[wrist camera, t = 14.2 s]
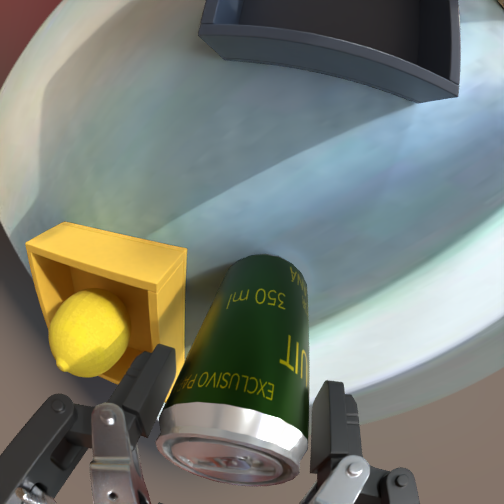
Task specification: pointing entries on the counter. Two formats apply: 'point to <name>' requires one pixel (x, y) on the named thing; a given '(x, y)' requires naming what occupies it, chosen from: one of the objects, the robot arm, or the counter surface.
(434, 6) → the slate bin
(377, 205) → the counter surface
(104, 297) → the lemon
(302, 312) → the beer can
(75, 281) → the yellow bin
